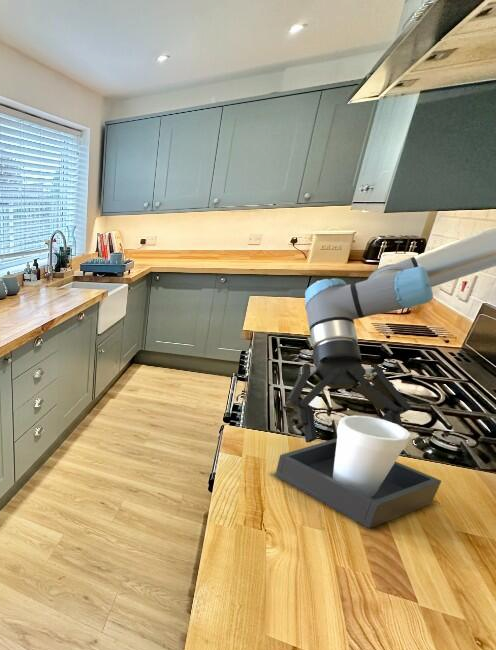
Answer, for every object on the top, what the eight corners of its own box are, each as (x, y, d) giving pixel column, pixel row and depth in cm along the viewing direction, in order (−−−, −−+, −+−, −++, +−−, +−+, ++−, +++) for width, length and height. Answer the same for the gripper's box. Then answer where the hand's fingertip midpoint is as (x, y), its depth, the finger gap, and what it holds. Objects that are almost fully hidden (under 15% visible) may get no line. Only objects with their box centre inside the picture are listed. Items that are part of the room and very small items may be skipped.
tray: (431, 503, 76) (441, 480, 74) (369, 528, 71) (378, 504, 69) (332, 457, 91) (338, 437, 89) (274, 475, 86) (280, 454, 84)
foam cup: (353, 505, 75) (375, 442, 70) (310, 476, 83) (327, 418, 78) (400, 499, 76) (425, 436, 71) (353, 470, 84) (372, 413, 79)
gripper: (394, 356, 88) (417, 454, 81) (261, 352, 95) (271, 442, 87) (420, 339, 82) (447, 444, 74) (274, 336, 88) (286, 432, 80)
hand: (352, 443), depth 81 cm, fingers open, 13 cm apart
